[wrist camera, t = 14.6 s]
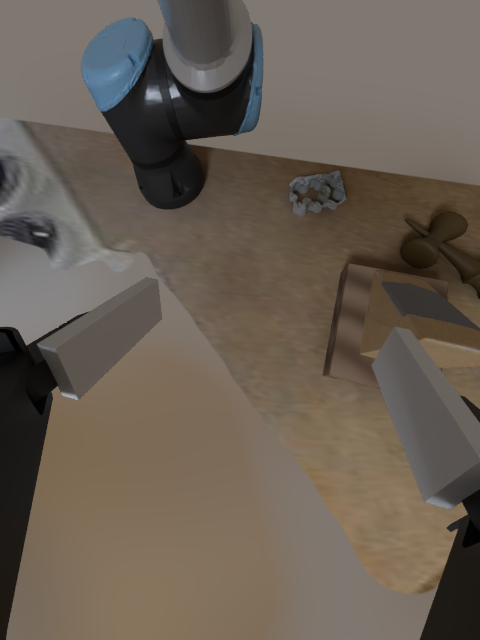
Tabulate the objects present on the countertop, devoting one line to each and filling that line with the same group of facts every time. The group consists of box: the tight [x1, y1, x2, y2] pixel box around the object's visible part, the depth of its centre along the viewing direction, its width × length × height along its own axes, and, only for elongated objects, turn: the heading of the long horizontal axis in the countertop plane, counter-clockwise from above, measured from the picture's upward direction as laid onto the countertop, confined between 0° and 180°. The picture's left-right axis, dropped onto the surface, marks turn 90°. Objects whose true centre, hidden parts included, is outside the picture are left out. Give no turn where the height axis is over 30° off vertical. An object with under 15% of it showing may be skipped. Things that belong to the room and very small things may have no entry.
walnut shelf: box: [323, 263, 448, 389], centre depth 38 cm, size 20×16×4 cm
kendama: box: [400, 212, 480, 299], centre depth 40 cm, size 6×10×20 cm
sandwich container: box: [360, 270, 480, 368], centre depth 30 cm, size 9×15×15 cm, turn 163°
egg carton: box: [289, 170, 346, 216], centre depth 47 cm, size 11×8×4 cm
